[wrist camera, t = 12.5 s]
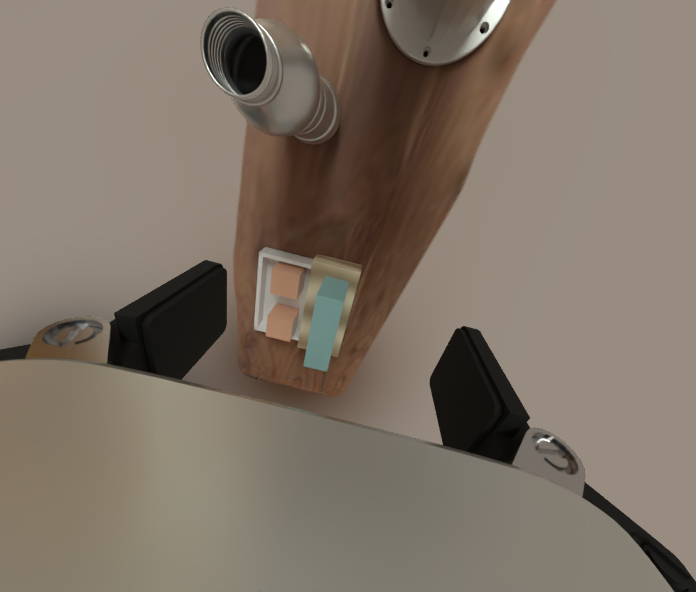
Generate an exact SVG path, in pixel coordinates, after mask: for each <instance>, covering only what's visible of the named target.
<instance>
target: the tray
mask: <svg viewBox="0 0 696 592" xmlns="http://www.w3.org/2000/svg"><path fill="white" fill-rule="evenodd" d="M312 260H313V259H312V258H308V257H304V256H300V255H296V254H292V253H289V252H285V251H281V250H277V249H273V248H269V247H265V248H263V249H262V250H261V251H260V252H259V261H258V276H257V291H256V305H255V320H254V330H258V331H262V332H266V326H267V316H268V314H269V313H270V311H271V310H272V309H273V307H274V306H275V304H276V303H279V304H283V305H287V306H291V307H295V308H299V309H300V311H299V317H298V323H297V328H296V330H295V333H294V335H293V337H292V339H293V340H297V341H298V340H299V335H300V329H301V323H302V318H303V312H304V306H305V300H306V295H307V289H308V283H309V278H310V272H311V266H312ZM279 261H281V262H285V263H289V264H293V265H297V266H301V267H305V268H307V269H306V276H305V282H304V288H303V290H302V292H301V293H300V295H299V297H298V298H297V300H295V299H291V298H287V297H283V296H279V295H275V294H271V293H270V286H271V274H272V268H273V267H274V266H275V265H276V264H277V263H278V262H279Z"/></svg>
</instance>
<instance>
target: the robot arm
mask: <svg viewBox="0 0 696 592" xmlns="http://www.w3.org/2000/svg"><path fill="white" fill-rule="evenodd" d="M510 1H511V0H380V4H381V10H382V15H383V20H384V23H385V26H386V28H387V31H388V33H389V36H390V37H391V39H392V40H393V42H394V44H395V45H396V47H397V48H398V49H399V50H400V51H401V52H402V53H403V54H404V55H405V56H407V57H408V58H410V59H411V60H413V61H414V62H417V63H420V64H423V65H428V66H441V65H447V64H450V63H453V62H455V61H458V60H460V59H462V58H464V57H465V56H467V55H468V54H470V53H471V52H473V51H474V50H475V49H476V48H477V47H478V46H479V45H480V44H482V43H483V42H484V41H485V39H486V38H487V37H488V36H489V35H490V34H491V33H492V31H493V30H494V28H495V27H496V26H497V24H498V23H499V21H500V20H501V19H502V17H503V15H504V13H505V11H506V9H507V7H508V5H509V4H510ZM388 4H391V5H392V7H391V8H389V9H388V8H387V5H388ZM480 29H483V30H484V33H483V34H481V33H480ZM424 52H427V53H428V56H427V57H424V56H423V53H424ZM114 315H115V319H114V320H113V321H111V322H108V321H106V320H105V319H102V318H99V317H91V316H84V317H75V318H68V319H64V320H61V321H57V322H55V323H52V324H50V325H48V326H46V327H44V328H43V329H41V330H40V331H39V332H38V333H37V334H36V335H35V337H34V338H33V341H32V343H31V344H29V345H24V346H18V347H13V348H7V349H1V350H0V592H696V581H695V580H694V579H693V577H692V576H691V575H690V573H689V572H688V571H687V569H686V568H685V566H684V565H683V564H682V563H681V562H680V560H679V559H678V558H677V557H676V556H675V555H674V554H673V553H671V552H670V551H669V550H668V549H666V548H665V547H664V546H663V545H662V544H661V543H659V542H658V541H657V540H656V539H655V538H653V537H652V536H651V535H650V534H648V533H647V532H646V531H645V530H643V529H642V528H641V527H640V526H639V525H637V524H636V523H635V522H634V521H632V520H631V519H630V518H629V517H627V516H626V515H625V514H624V513H622V512H621V511H620V510H619V509H617V508H616V507H615V506H613V505H612V504H611V503H610V502H609V501H608V500H606V499H605V498H604V497H603V496H601V495H600V494H599V493H598V492H596V491H595V490H594V489H593V488H591V487H590V486H589V485H588V484H586V483H585V469H584V466H583V464H582V462H581V460H580V459H579V457H578V456H577V455H576V453H575V452H574V451H573V450H572V449H571V448H570V447H569V446H568V445H567V444H566V443H565V442H564V441H562V440H561V439H560V438H558V437H557V436H555V435H554V434H552V433H550V432H548V431H546V430H543V429H540V428H530V427H529V425H528V424H527V421H528V420H529V419H530V417H529V415H528V414H527V412H526V410H525V408H524V407H523V405H522V403H521V402H520V400H519V398H518V396H517V395H516V393H515V391H514V389H513V388H512V386H511V384H510V382H509V381H508V379H507V378H506V376H505V374H504V372H503V370H502V369H501V367H500V365H499V364H498V362H497V360H496V358H495V357H494V355H493V353H492V351H491V350H490V348H489V346H488V344H487V343H486V341H485V339H484V338H483V336H482V334H481V332H480V331H479V330H477V329H473V328H469V327H465V326H463V327H461V328H460V329H459V328H458V329H456V330H455V332H454V334H453V336H452V337H451V340H450V341H449V343H448V345H447V347H446V349H445V351H444V353H443V354H442V356H441V358H440V360H439V362H438V364H437V366H436V368H435V369H434V371H433V373H432V375H431V378H430V388H431V392H432V397H433V401H434V405H435V410H436V415H437V419H438V424H439V428H440V433H441V437H442V442H443V445H439V444H436V443H432V442H428V441H424V440H420V439H416V438H412V437H408V436H405V435H401V434H397V433H393V432H388V431H385V430H381V429H377V428H373V427H369V426H365V425H362V424H357V423H354V422H349V421H345V420H342V419H338V418H334V417H330V416H325V415H322V414H318V413H314V412H310V411H306V410H301V409H298V408H294V407H289V406H285V405H281V404H277V403H273V402H269V401H265V400H261V399H257V398H253V397H249V396H245V395H241V394H237V393H232V392H228V391H224V390H220V389H216V388H212V387H208V386H204V385H199V384H196V383H191V382H187V381H183V380H181V379H182V378H183V377H184V376H185V374H187V373H188V371H189V370H190V369H191V368H192V367H193V366H194V365H195V364H196V362H197V361H198V360H199V359H200V358H201V357H202V356H203V355H204V354H205V352H206V351H207V350H208V349H209V348H210V347H211V346H212V345H213V344H214V342H215V341H216V340H217V339H218V338H219V337H220V336H221V335H222V334H223V332H224V331H225V328H226V324H227V319H226V318H227V271H226V269H224V268H223V266H222V265H221V264H219V263H215V262H211V261H208V260H205V261H203V262H201V263H199V264H198V265H196V266H194V267H192V268H191V269H189V270H187V271H186V272H184V273H182V274H180V275H179V276H177V277H175V278H174V279H172V280H170V281H168V282H167V283H165V284H163V285H162V286H160V287H158V288H157V289H155V290H153V291H151V292H150V293H148V294H146V295H144V296H143V297H141V298H139V299H138V300H136V301H134V302H132V303H131V304H129V305H127V306H126V307H124V308H122V309H120V310H119V311H117V312H115V313H114Z"/></svg>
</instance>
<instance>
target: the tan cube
mask: <svg viewBox="0 0 696 592" xmlns="http://www.w3.org/2000/svg"><path fill="white" fill-rule="evenodd" d="M306 269H307V268H305V267H301V266H297V265H293V264H289V263H285V262H281V261H279V262H278V263H277V264H276V265H275V266H274V267H273V268H272V274H271V286H270V293H271V294H275V295H279V296H283V297H287V298H291V299H295V300H297V298H298V297H299V295H300V293H301V292H302V290H303V288H304V282H305V276H306Z"/></svg>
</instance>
